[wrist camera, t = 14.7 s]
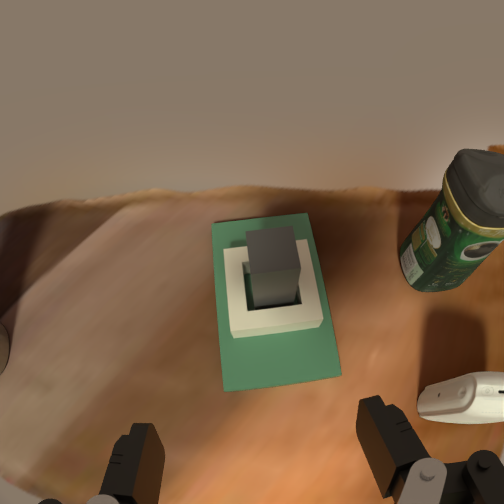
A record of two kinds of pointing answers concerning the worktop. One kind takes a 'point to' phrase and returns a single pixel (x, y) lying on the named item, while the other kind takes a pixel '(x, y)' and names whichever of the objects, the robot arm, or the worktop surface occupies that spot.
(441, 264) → the coffee jar
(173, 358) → the worktop surface
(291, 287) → the plug
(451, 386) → the photo printer
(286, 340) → the header board
